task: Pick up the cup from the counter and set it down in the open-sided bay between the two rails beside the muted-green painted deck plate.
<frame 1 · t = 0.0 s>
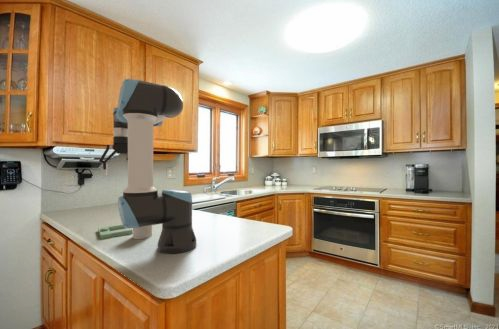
hand: (121, 175, 124), 28 cm above the worktop, fingers open, 13 cm apart
cup: (142, 236, 107), on the worktop
deck: (113, 232, 113), on the worktop
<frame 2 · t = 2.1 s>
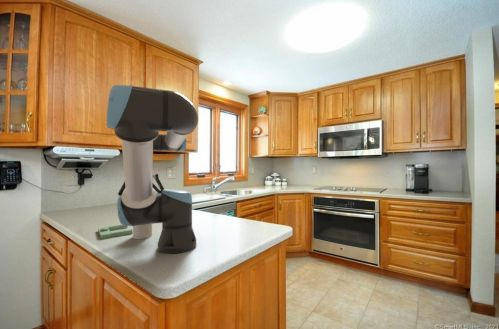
hand: (142, 209, 107), 13 cm above the worktop, fingers open, 13 cm apart
nothing on the worktop moved.
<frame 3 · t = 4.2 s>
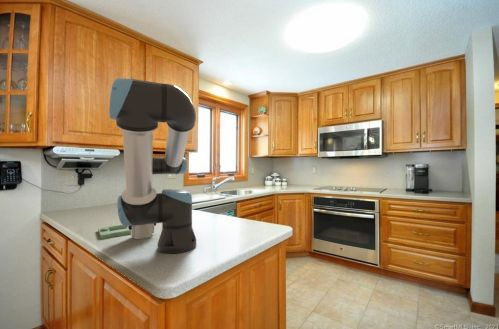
hand: (142, 234, 107), 1 cm above the worktop, fingers closed on cup, 8 cm apart
cup: (142, 236, 107), on the worktop, touching gripper
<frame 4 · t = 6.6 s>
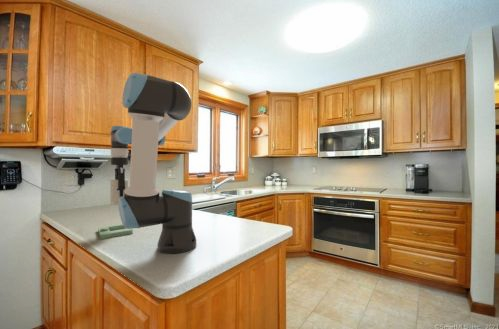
hand: (119, 202, 114), 15 cm above the worktop, fingers closed on cup, 8 cm apart
cup: (119, 204, 114), point 14 cm above the worktop, touching gripper
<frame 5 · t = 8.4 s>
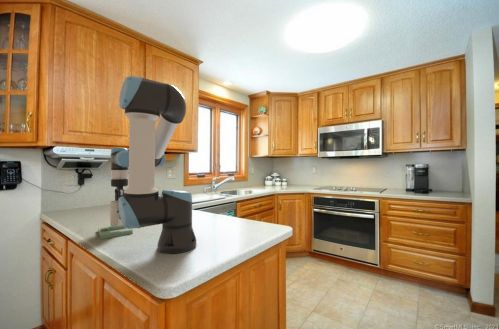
hand: (119, 223, 114), 4 cm above the worktop, fingers closed on cup, 8 cm apart
cup: (119, 225, 114), point 3 cm above the worktop, touching gripper
when the fingers open (3 cm above the worktop, at t = 9.4 s): cup drops 3 cm, on the worktop.
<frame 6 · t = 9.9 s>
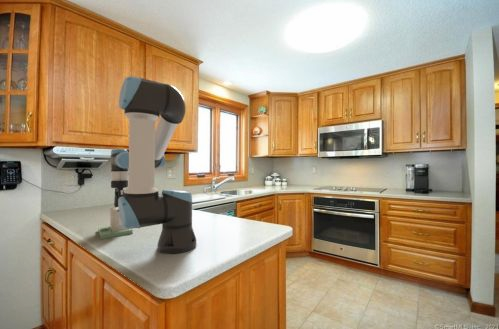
hand: (119, 222, 114), 5 cm above the worktop, fingers open, 13 cm apart
cup: (119, 232, 114), on the worktop
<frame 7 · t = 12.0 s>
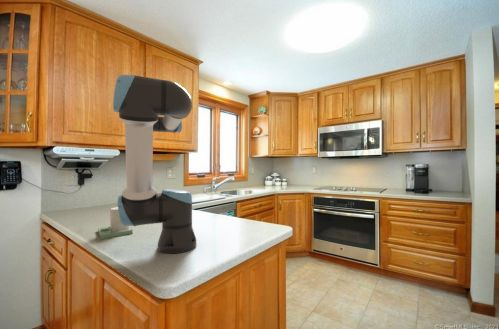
hand: (142, 186, 117), 23 cm above the worktop, fingers open, 13 cm apart
nothing on the worktop moved.
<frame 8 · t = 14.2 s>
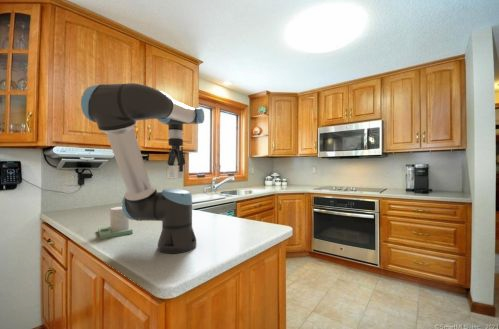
hand: (175, 177, 123), 27 cm above the worktop, fingers open, 13 cm apart
nothing on the worktop moved.
at the end: cup inside the target area on the deck (0.4 cm from its centre), point 0.0 cm above the deck's base; cup tilted 0°; the gripper is holding nothing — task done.
